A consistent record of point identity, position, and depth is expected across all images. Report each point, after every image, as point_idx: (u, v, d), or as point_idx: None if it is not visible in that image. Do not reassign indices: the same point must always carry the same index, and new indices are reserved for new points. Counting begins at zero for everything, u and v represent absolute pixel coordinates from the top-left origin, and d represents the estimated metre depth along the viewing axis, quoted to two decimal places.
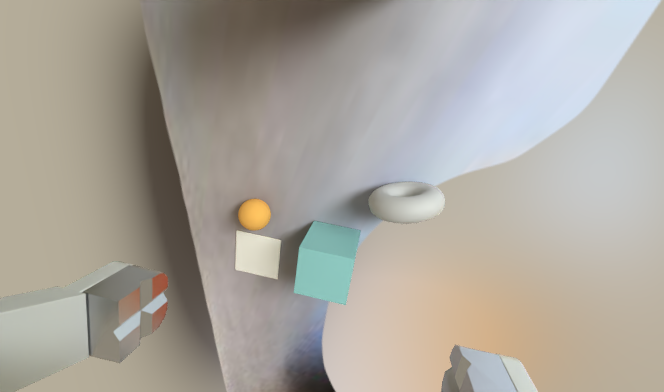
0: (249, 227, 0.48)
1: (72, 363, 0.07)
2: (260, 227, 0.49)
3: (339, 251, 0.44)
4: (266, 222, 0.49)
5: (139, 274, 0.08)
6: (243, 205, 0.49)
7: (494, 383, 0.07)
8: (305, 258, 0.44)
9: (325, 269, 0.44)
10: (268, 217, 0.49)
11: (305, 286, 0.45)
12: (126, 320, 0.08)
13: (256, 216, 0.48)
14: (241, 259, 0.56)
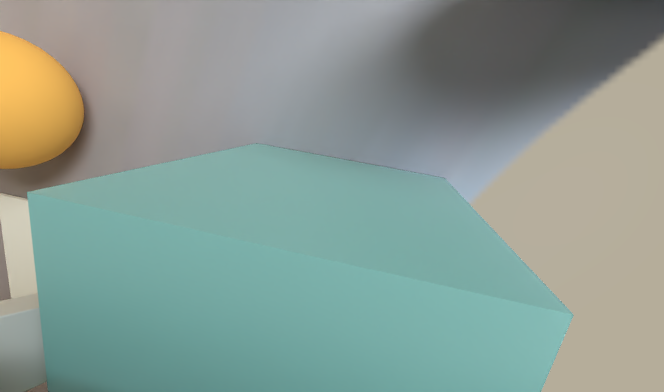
0: None
1: None
2: None
3: (388, 240, 0.05)
4: (32, 127, 0.11)
5: None
6: None
7: None
8: (93, 301, 0.05)
9: None
10: (44, 106, 0.11)
11: None
12: None
13: None
14: None
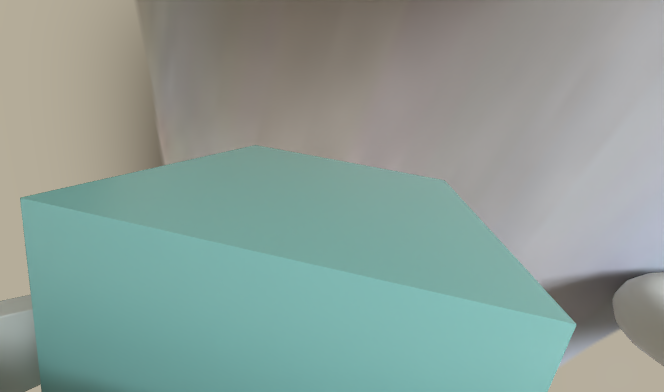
0: None
1: None
2: None
3: (387, 246, 0.05)
4: None
5: None
6: None
7: None
8: (87, 308, 0.05)
9: None
10: None
11: None
12: None
13: None
14: None
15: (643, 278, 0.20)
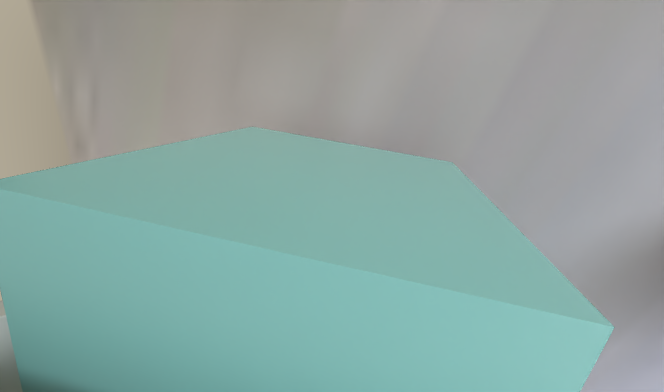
0: None
1: None
2: None
3: (392, 235, 0.05)
4: None
5: None
6: None
7: None
8: (62, 305, 0.05)
9: None
10: None
11: None
12: None
13: None
14: None
15: None
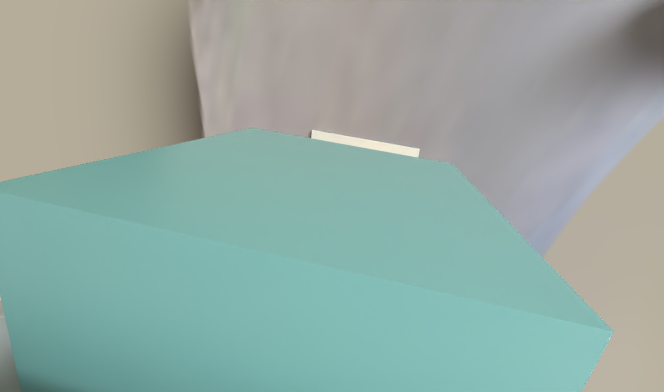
0: None
1: None
2: None
3: (392, 238, 0.05)
4: None
5: None
6: None
7: None
8: (60, 307, 0.04)
9: None
10: None
11: None
12: None
13: None
14: None
15: None
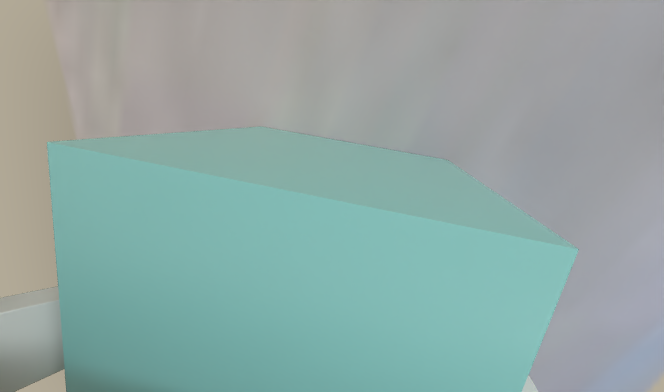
0: None
1: None
2: None
3: (396, 193, 0.05)
4: None
5: None
6: None
7: None
8: (109, 251, 0.05)
9: (278, 346, 0.05)
10: None
11: None
12: None
13: None
14: None
15: None
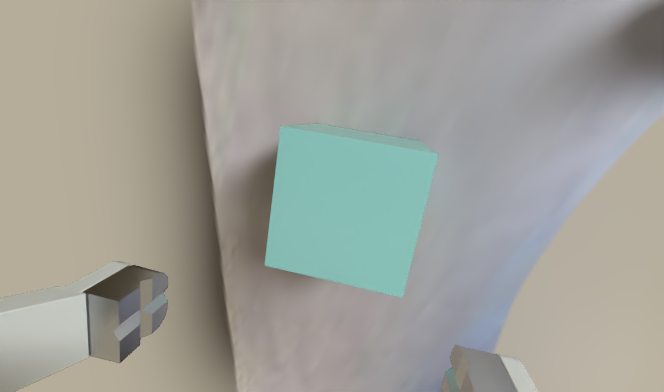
0: None
1: (72, 363, 0.07)
2: None
3: (390, 143, 0.16)
4: None
5: (139, 274, 0.08)
6: None
7: (495, 383, 0.07)
8: (296, 162, 0.16)
9: (351, 191, 0.16)
10: None
11: (295, 246, 0.17)
12: (126, 320, 0.08)
13: None
14: None
15: None
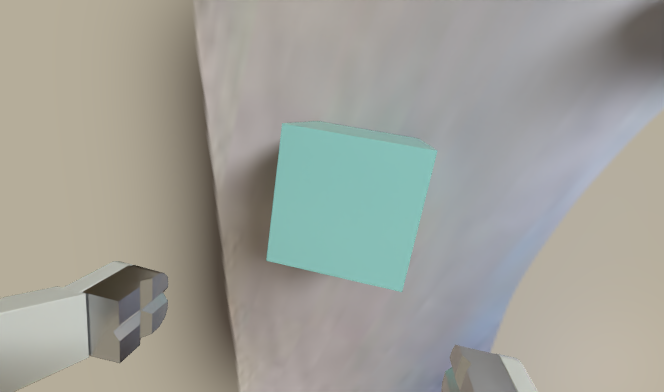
0: None
1: (72, 363, 0.07)
2: None
3: (389, 140, 0.16)
4: None
5: (139, 274, 0.08)
6: None
7: (495, 383, 0.07)
8: (298, 158, 0.16)
9: (352, 188, 0.16)
10: None
11: (296, 241, 0.17)
12: (126, 320, 0.08)
13: None
14: None
15: None
